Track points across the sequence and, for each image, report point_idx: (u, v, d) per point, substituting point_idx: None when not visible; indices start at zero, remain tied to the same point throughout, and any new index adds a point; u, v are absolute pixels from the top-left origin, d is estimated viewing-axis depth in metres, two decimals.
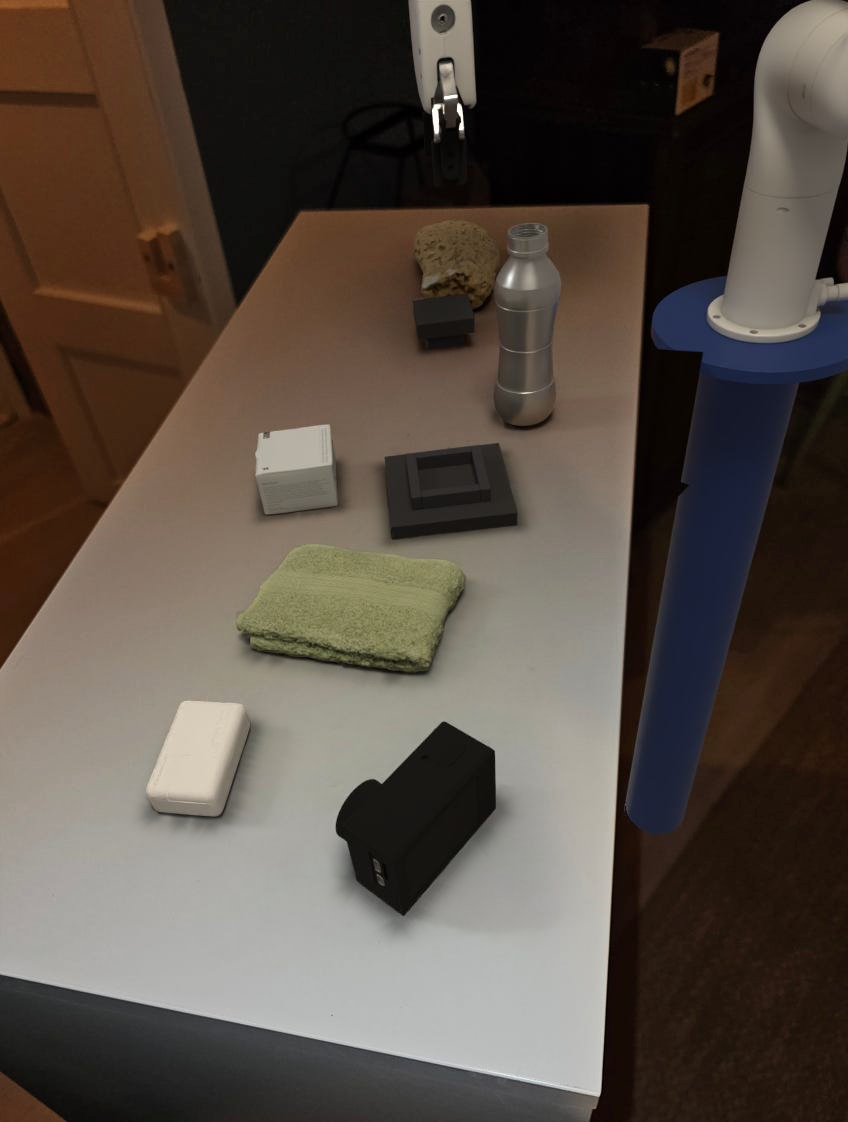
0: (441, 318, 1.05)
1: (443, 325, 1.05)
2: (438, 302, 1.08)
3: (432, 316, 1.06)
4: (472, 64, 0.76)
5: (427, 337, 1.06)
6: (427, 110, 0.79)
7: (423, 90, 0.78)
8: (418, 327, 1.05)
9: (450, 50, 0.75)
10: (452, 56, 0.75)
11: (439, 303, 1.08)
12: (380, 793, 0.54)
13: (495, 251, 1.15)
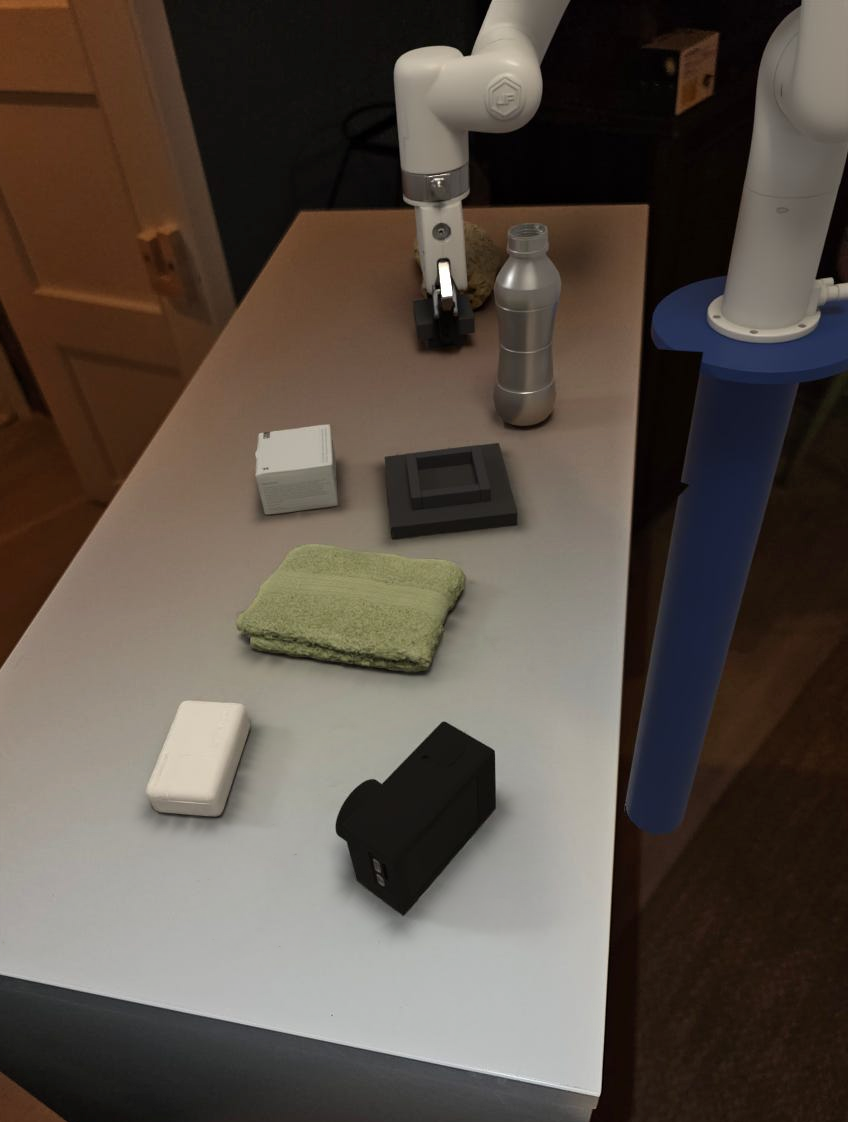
0: None
1: None
2: (438, 302, 1.08)
3: None
4: (464, 262, 0.98)
5: (427, 337, 1.06)
6: (429, 292, 1.01)
7: (426, 279, 1.00)
8: (418, 327, 1.05)
9: (447, 256, 0.97)
10: (449, 260, 0.98)
11: None
12: (380, 793, 0.54)
13: (495, 251, 1.15)
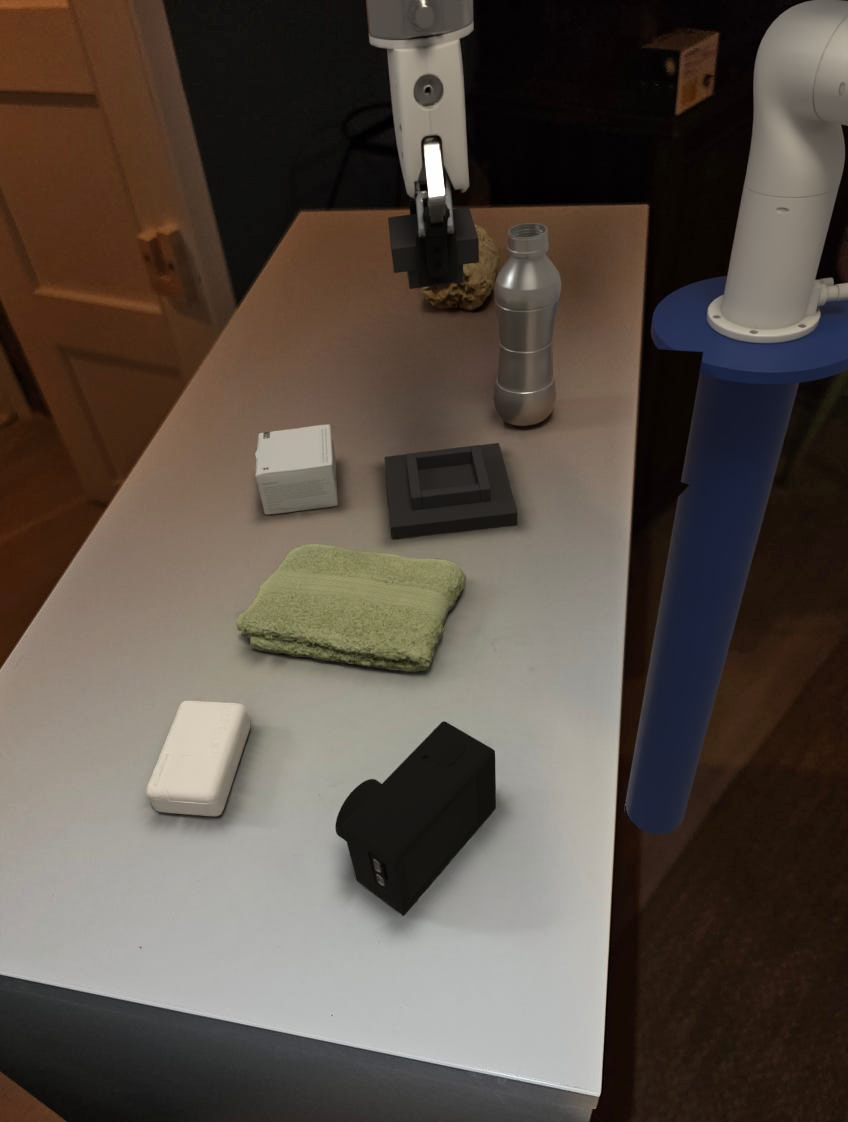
0: None
1: None
2: None
3: None
4: (464, 143, 0.63)
5: (407, 268, 0.70)
6: (410, 195, 0.66)
7: (405, 172, 0.64)
8: (393, 252, 0.69)
9: (437, 133, 0.62)
10: (440, 139, 0.62)
11: None
12: (380, 793, 0.54)
13: (495, 251, 1.15)
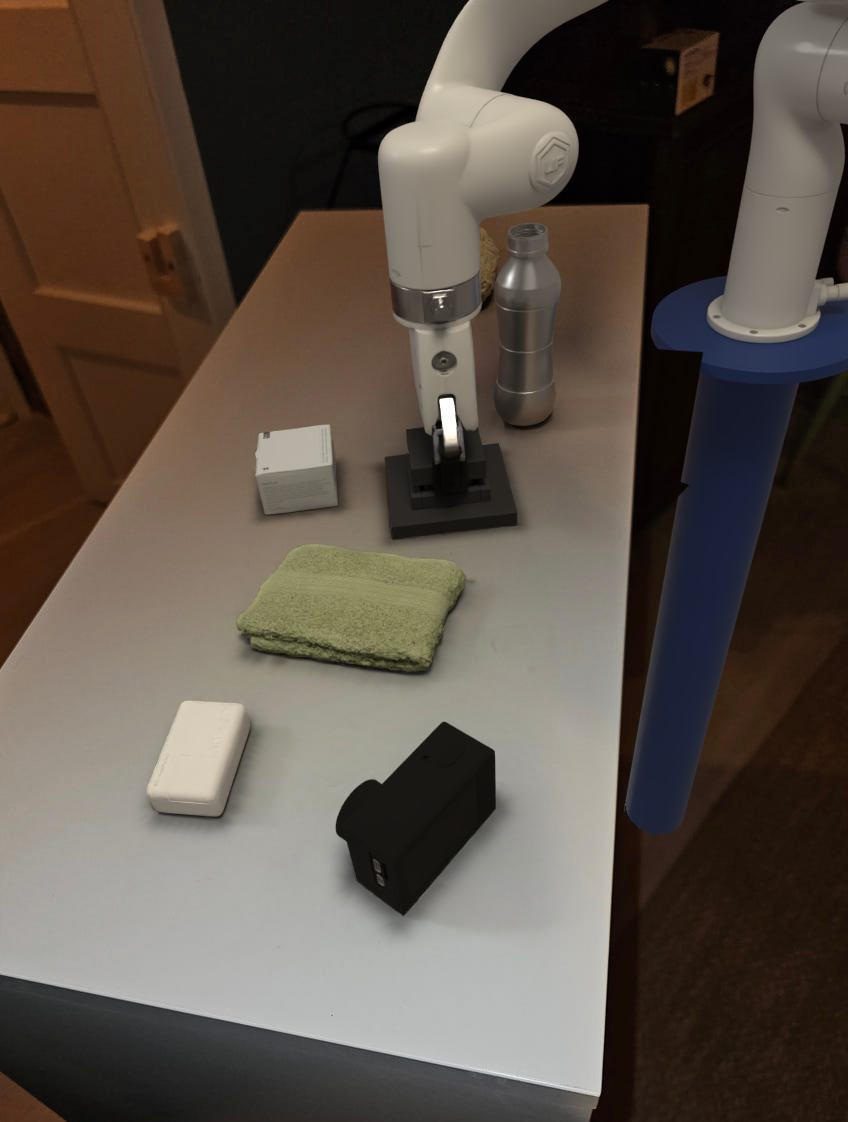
0: None
1: None
2: None
3: (430, 456, 0.81)
4: (474, 398, 0.74)
5: (424, 483, 0.81)
6: (428, 433, 0.76)
7: (423, 418, 0.75)
8: (412, 472, 0.80)
9: (452, 392, 0.73)
10: (454, 396, 0.73)
11: None
12: (380, 793, 0.54)
13: (495, 251, 1.15)
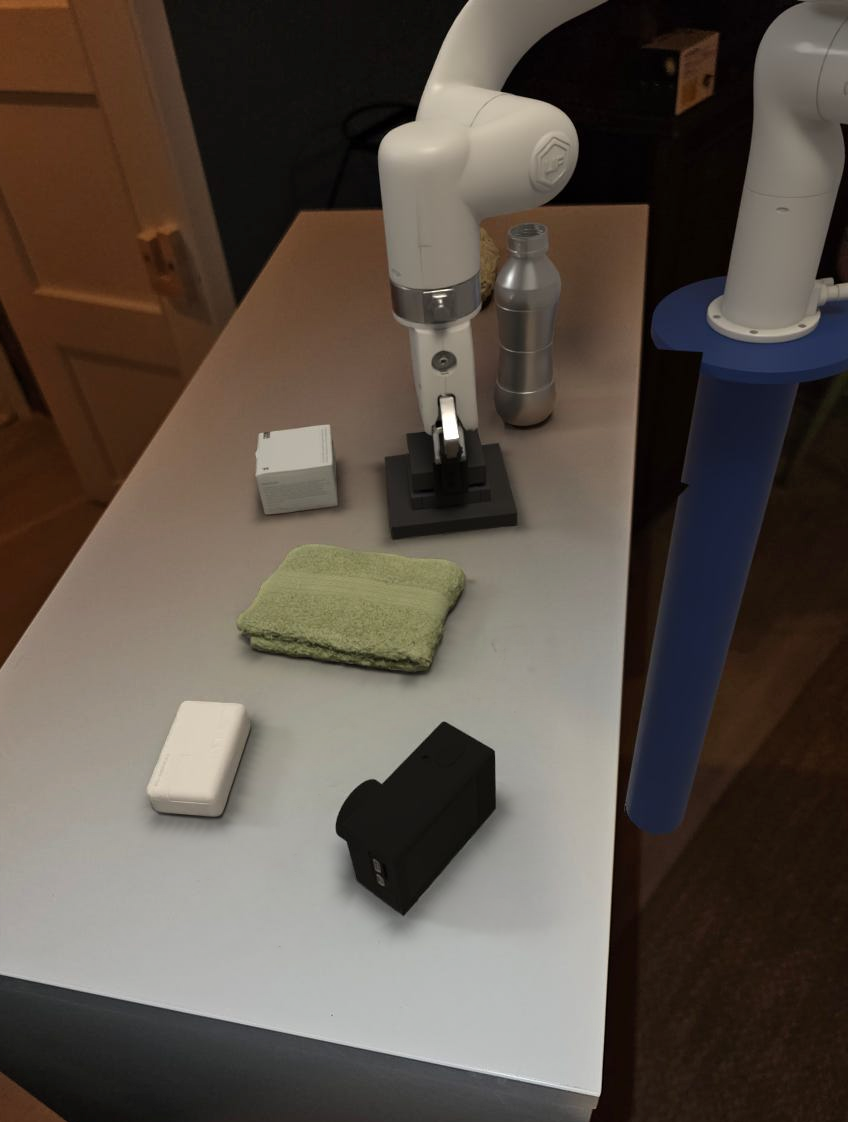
0: None
1: None
2: (439, 438, 0.84)
3: (431, 460, 0.82)
4: (474, 398, 0.74)
5: (425, 487, 0.82)
6: (427, 433, 0.76)
7: (423, 417, 0.75)
8: (413, 476, 0.81)
9: (451, 388, 0.73)
10: (453, 393, 0.73)
11: (440, 440, 0.84)
12: (380, 793, 0.54)
13: (495, 251, 1.15)
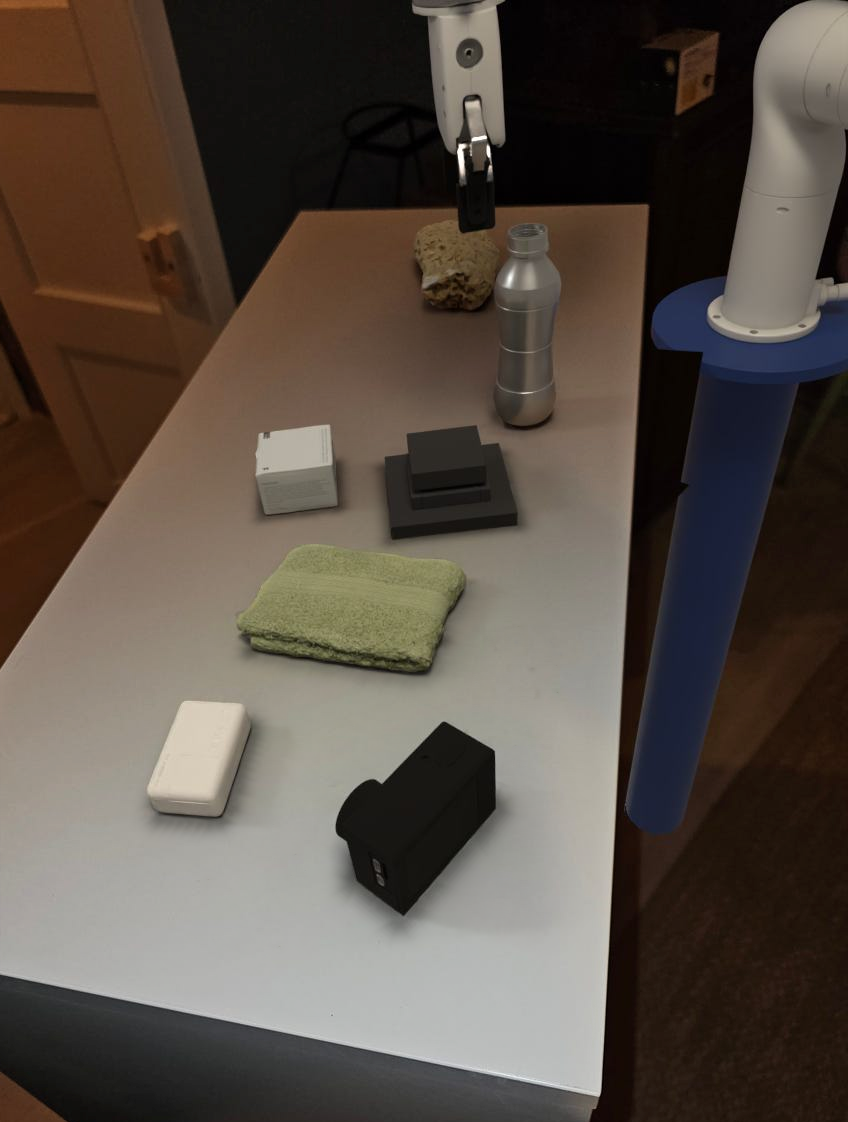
0: (443, 464, 0.81)
1: (446, 474, 0.81)
2: (439, 438, 0.84)
3: (431, 460, 0.82)
4: (501, 101, 0.69)
5: (425, 487, 0.82)
6: (451, 151, 0.72)
7: (447, 130, 0.71)
8: (413, 476, 0.81)
9: (477, 87, 0.68)
10: (479, 93, 0.69)
11: (440, 440, 0.84)
12: (380, 793, 0.54)
13: (495, 251, 1.15)
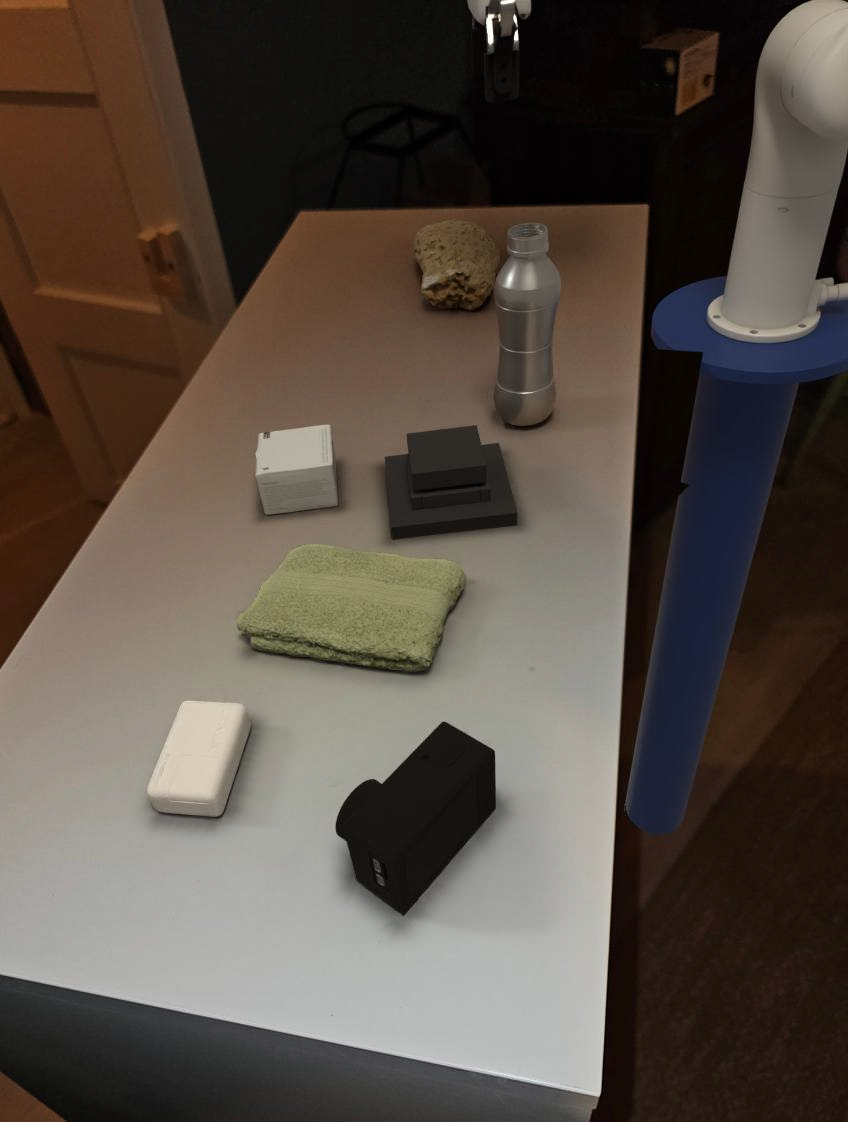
0: (443, 464, 0.81)
1: (446, 474, 0.81)
2: (439, 438, 0.84)
3: (431, 460, 0.82)
4: None
5: (425, 487, 0.82)
6: (481, 20, 0.78)
7: None
8: (413, 476, 0.81)
9: None
10: None
11: (440, 440, 0.84)
12: (380, 793, 0.54)
13: (495, 251, 1.15)
